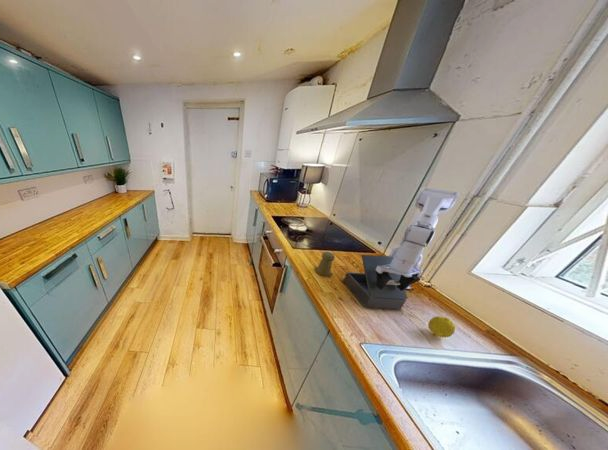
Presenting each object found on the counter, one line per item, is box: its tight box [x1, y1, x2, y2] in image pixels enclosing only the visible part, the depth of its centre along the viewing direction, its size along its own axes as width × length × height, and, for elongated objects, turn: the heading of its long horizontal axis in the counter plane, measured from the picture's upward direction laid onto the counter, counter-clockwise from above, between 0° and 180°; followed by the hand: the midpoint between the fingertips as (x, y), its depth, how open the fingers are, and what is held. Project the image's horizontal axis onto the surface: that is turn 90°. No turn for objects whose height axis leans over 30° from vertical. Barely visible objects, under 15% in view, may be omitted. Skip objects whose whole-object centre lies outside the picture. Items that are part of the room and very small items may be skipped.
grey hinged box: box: [342, 272, 407, 311], centre depth 83 cm, size 15×13×5 cm
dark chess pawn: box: [315, 251, 336, 277], centre depth 95 cm, size 6×6×11 cm
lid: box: [361, 254, 408, 300], centre depth 76 cm, size 16×13×4 cm
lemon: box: [427, 315, 456, 338], centre depth 66 cm, size 6×6×8 cm
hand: (389, 288), depth 75 cm, fingers open, 7 cm apart
